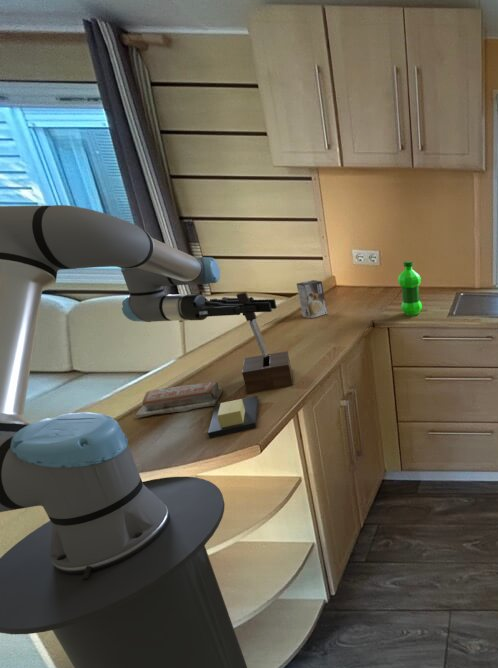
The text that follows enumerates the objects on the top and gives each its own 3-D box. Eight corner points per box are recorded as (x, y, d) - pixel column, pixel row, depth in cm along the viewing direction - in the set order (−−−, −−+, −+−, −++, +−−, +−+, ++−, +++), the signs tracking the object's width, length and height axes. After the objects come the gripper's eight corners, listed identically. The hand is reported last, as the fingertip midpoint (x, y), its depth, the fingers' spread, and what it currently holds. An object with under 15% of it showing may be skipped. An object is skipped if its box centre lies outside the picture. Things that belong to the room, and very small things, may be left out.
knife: (269, 356, 121) (244, 294, 113) (260, 359, 120) (235, 296, 112) (270, 349, 127) (247, 289, 120) (262, 351, 126) (238, 291, 119)
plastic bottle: (397, 316, 192) (392, 263, 183) (407, 310, 201) (402, 259, 192) (417, 317, 190) (413, 264, 181) (426, 311, 199) (422, 260, 190)
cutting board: (256, 427, 103) (255, 422, 102) (209, 438, 99) (207, 432, 98) (258, 400, 116) (257, 395, 116) (217, 408, 112) (215, 403, 111)
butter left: (232, 425, 101) (228, 413, 100) (220, 428, 100) (217, 415, 99) (234, 412, 107) (231, 400, 106) (223, 414, 106) (220, 402, 104)
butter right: (243, 423, 102) (240, 410, 101) (232, 425, 101) (228, 413, 100) (245, 410, 108) (242, 398, 107) (234, 412, 107) (231, 400, 106)
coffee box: (319, 311, 198) (314, 279, 192) (327, 314, 195) (322, 281, 189) (302, 316, 191) (296, 283, 185) (310, 318, 188) (304, 284, 182)
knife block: (292, 385, 125) (288, 364, 122) (247, 393, 120) (241, 372, 117) (291, 370, 135) (287, 351, 132) (249, 377, 130) (244, 357, 127)
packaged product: (219, 376, 120) (211, 391, 111) (223, 391, 121) (215, 406, 113) (144, 386, 113) (129, 403, 105) (150, 402, 115) (135, 419, 106)
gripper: (207, 312, 125) (286, 310, 127) (173, 328, 111) (263, 326, 113) (200, 288, 122) (281, 286, 125) (165, 302, 108) (257, 299, 110)
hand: (272, 305), depth 119 cm, fingers closed on knife, 3 cm apart
